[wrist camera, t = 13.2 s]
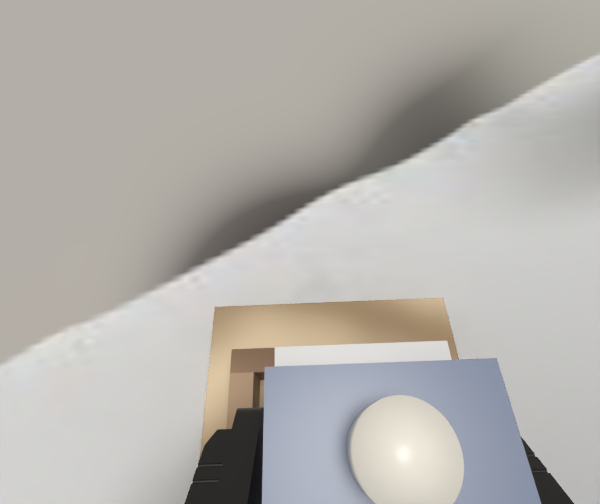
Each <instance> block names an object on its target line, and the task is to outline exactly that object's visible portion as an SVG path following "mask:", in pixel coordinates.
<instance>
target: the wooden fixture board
mask: <svg viewBox="0 0 600 504" xmlns="http://www.w3.org/2000/svg"><path fill="white" fill-rule="evenodd" d="M423 341H447V342H448V346H449V350H450V355H451V359H452V360H459V358H458V354H457V350H456V346H455V342H454V338H453V334H452V330H451V326H450V322H449V318H448V315H447V311H446V307H445V303H444V299H443V298H424V299H400V300H375V301H351V302H326V303H301V304H277V305H252V306H228V307H215V312H214V322H213V332H212V342H211V352H210V362H209V372H208V382H207V392H206V403H205V413H204V423H203V433H202V443H201V453H200V457H201V454H202V451H203V448H204V445H205V444H206V443H207V442H208V440H209V439H210V438H211V437H212V435H213V434H214V433H215V432H216V430H217V429H232V425H233V421H234V418H235V414H236V410H237V409H238V408H257V407H264V373H265V367H274V366H275V347H290V346H317V345H343V344H370V343H397V342H423Z"/></svg>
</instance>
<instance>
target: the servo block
mask: <svg viewBox="0 0 600 504" xmlns="http://www.w3.org/2000/svg"><path fill="white" fill-rule="evenodd" d="M262 504H541V501H540V498H539V494H538V491H537V488H536V485H535V481H534V478H533V475H532V472H531V468H530V465H529V462H528V459H527V455H526V452H525V449H524V446H523V443H522V439H521V436H520V433H519V430H518V426H517V423H516V420H515V417H514V413H513V410H512V407H511V404H510V400H509V397H508V394H507V391H506V387H505V384H504V381H503V378H502V375H501V371H500V368H499V365H498V362H497V358H491V359H464V360H452V359H451V355H450V350H449V346H448V342H447V341H423V342H397V343H370V344H343V345H317V346H290V347H275V366H274V367H265V373H264V423H263V473H262Z"/></svg>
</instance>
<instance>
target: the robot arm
mask: <svg viewBox="0 0 600 504" xmlns="http://www.w3.org/2000/svg"><path fill="white" fill-rule="evenodd" d="M263 423H264V407H257V408H238V409H237V410H236V414H235V418H234V421H233V425H232V429H217V430H216V432H215V433H214V434H213V435H212V437H211V438H210V439H209V440H208V442H207V443H206V444H205V445H204V448H203V451H202V454H201V457H200V460H199V463H198V468H197V469H196V472H195V475H194V478H193V483H192V484H191V487H190V489H189V492H188V495H187V498H186V501H185V504H262V473H263ZM521 439H522V437H521ZM522 443H523V446H524V449H525V452H526V455H527V459H528V462H529V465H530V468H531V472H532V475H533V478H534V481H535V485H536V488H537V491H538V494H539V498H540V501H541V504H574V503H573V502H572V500H571V499H570V498H569V497H568V495H567V494H566V493H565V492H564V490H563V489H562V488H561V487H560V485H559V484H558V483H557V482H556V480H555V479H554V478H553V476H552V475H551V474H550V473H548V472H547V469H546V468H545V466H544V465H543V464H542V463H541V461H540V460H539V459H538V458H537V457H535V455H534V452H533V451H532V450H531V449H530V447H529V446H528V445H527V444H526V442H525V441H524V440H523V439H522Z"/></svg>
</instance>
